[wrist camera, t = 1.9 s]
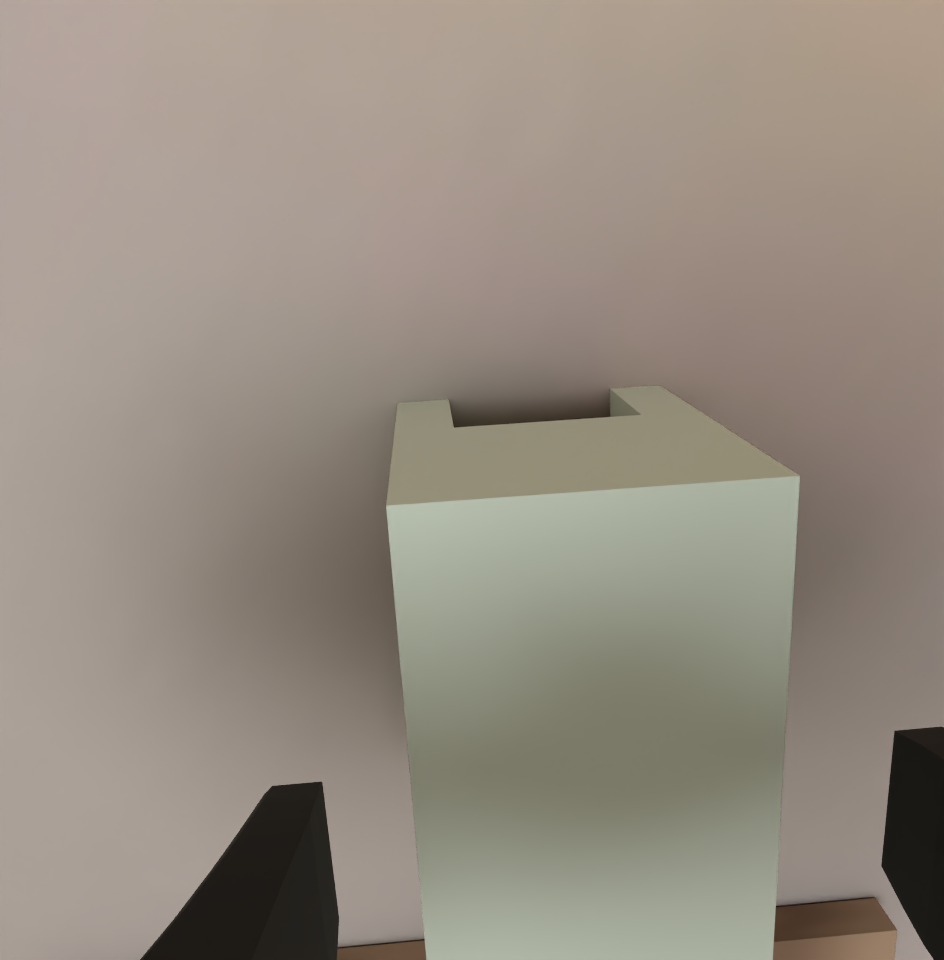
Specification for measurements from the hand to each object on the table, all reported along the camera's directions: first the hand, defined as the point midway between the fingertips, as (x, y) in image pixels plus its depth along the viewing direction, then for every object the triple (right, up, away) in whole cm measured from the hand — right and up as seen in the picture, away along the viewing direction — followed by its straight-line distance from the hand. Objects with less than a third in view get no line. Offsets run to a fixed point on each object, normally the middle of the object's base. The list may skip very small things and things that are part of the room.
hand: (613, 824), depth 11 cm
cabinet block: (0, +2, +7) cm, 8 cm away
